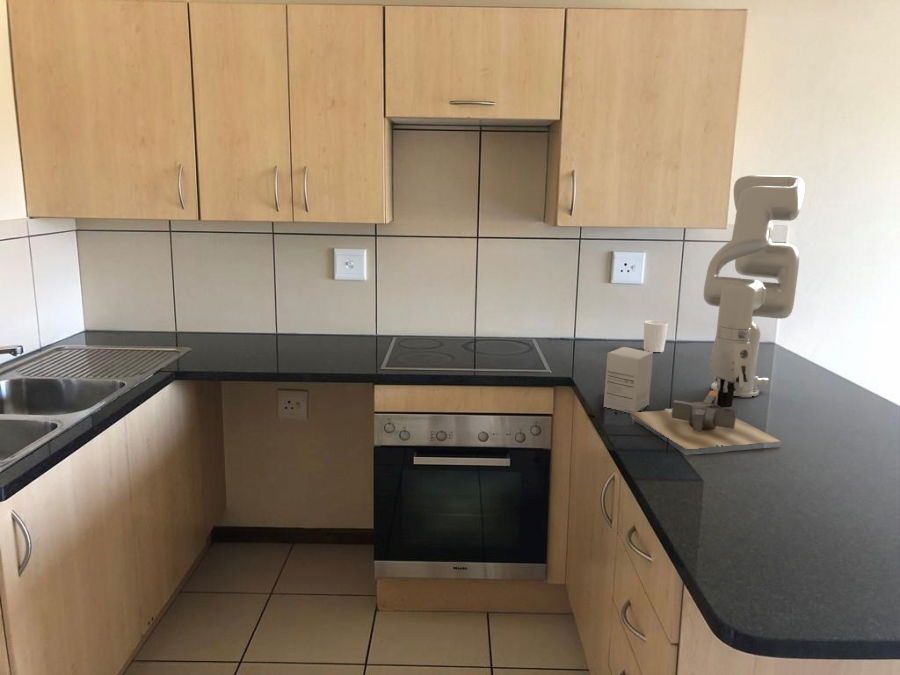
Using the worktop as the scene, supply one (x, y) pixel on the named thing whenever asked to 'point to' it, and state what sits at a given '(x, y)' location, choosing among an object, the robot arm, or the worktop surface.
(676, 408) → the capstan
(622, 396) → the supplement box
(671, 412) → the level window
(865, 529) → the worktop surface
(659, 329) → the white cup
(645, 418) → the stand plate
